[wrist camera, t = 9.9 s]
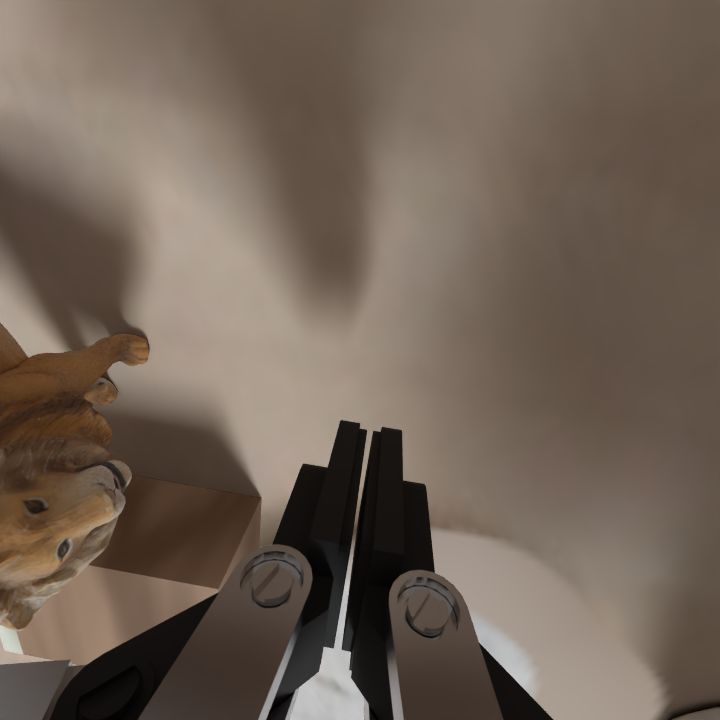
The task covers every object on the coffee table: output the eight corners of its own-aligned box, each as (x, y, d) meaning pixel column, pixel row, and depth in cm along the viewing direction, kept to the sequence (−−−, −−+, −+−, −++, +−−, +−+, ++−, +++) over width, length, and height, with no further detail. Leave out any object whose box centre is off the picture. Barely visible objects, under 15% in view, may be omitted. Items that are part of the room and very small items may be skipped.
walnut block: (218, 589, 13) (-33, 542, 13) (219, 692, 15) (4, 650, 16) (262, 496, 17) (70, 463, 18) (257, 589, 19) (87, 557, 20)
